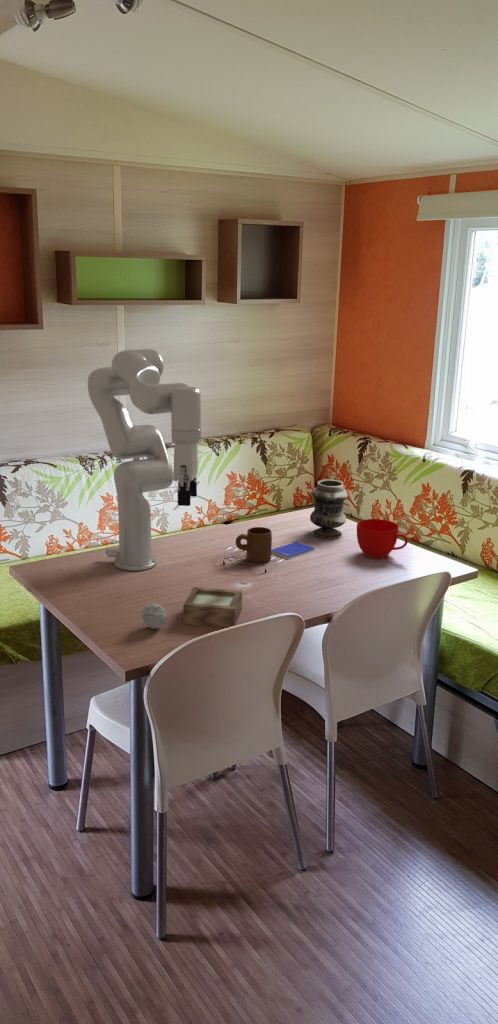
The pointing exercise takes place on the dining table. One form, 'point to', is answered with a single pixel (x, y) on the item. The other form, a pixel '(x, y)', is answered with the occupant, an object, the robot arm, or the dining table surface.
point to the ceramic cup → (378, 537)
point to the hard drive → (292, 550)
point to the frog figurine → (154, 615)
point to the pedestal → (212, 607)
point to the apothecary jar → (328, 508)
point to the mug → (256, 544)
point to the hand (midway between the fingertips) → (187, 500)
